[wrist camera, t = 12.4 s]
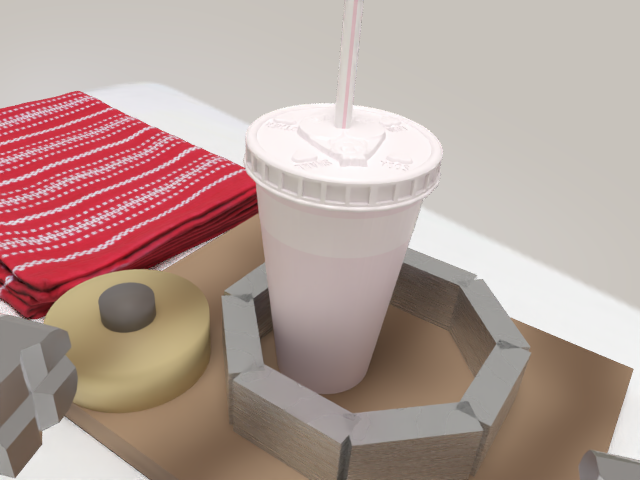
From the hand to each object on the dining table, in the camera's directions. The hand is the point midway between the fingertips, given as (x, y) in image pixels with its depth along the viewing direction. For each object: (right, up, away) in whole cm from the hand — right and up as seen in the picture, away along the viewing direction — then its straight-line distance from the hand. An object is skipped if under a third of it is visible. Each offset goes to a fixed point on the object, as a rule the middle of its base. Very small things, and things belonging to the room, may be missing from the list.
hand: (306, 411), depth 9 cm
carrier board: (+1, -3, +15) cm, 16 cm away
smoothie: (0, -2, +15) cm, 15 cm away
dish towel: (-16, +6, +29) cm, 33 cm away
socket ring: (+2, -2, +15) cm, 15 cm away
